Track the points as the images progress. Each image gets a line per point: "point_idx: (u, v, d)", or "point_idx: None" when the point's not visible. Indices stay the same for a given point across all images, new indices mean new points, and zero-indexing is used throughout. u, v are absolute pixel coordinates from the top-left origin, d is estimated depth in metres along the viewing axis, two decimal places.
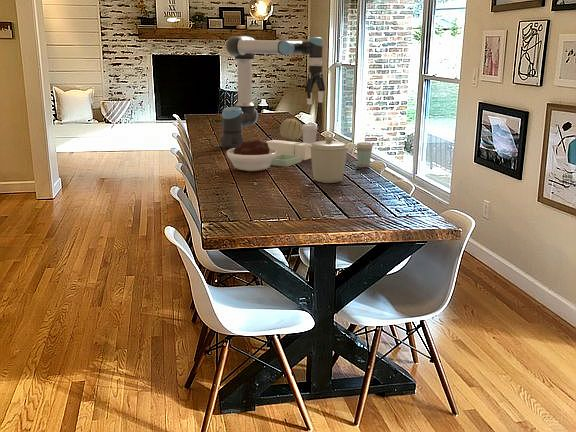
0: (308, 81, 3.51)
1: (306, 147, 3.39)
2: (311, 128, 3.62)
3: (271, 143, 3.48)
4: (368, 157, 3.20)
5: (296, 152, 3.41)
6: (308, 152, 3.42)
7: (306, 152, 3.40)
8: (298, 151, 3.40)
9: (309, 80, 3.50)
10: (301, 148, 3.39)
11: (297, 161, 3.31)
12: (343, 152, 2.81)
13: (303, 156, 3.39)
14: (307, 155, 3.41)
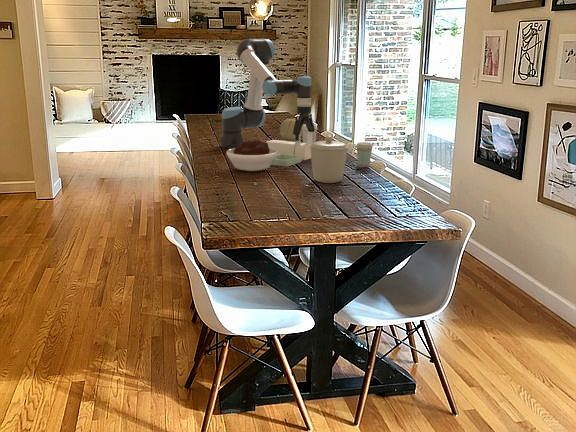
0: (296, 123, 3.32)
1: (306, 147, 3.39)
2: None
3: (271, 143, 3.48)
4: (368, 157, 3.20)
5: (296, 152, 3.41)
6: (308, 152, 3.42)
7: (306, 152, 3.40)
8: (298, 151, 3.40)
9: (297, 122, 3.32)
10: (301, 148, 3.39)
11: (297, 161, 3.31)
12: (343, 152, 2.81)
13: (303, 156, 3.39)
14: (307, 155, 3.41)
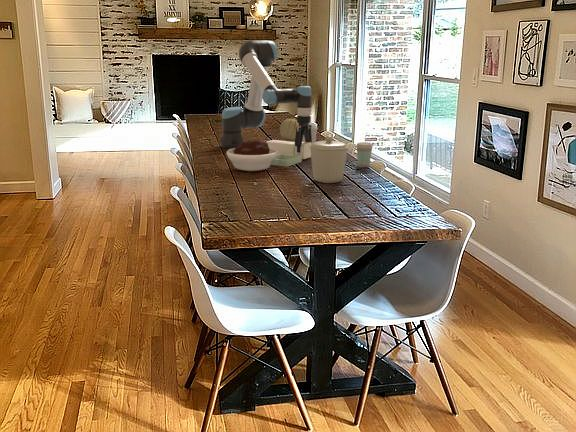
0: (296, 134, 3.35)
1: (306, 146, 3.39)
2: (311, 128, 3.62)
3: (271, 143, 3.48)
4: (368, 157, 3.20)
5: (295, 151, 3.41)
6: (308, 151, 3.42)
7: (306, 151, 3.41)
8: None
9: (297, 133, 3.35)
10: None
11: (297, 161, 3.31)
12: (343, 152, 2.81)
13: (302, 155, 3.39)
14: (306, 154, 3.41)
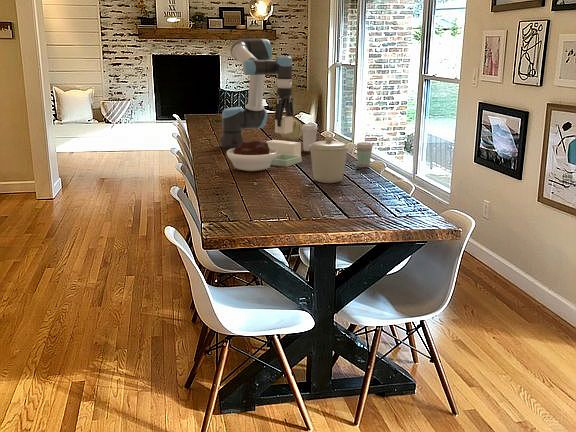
0: (277, 107, 3.18)
1: (287, 120, 3.22)
2: (311, 128, 3.62)
3: (271, 143, 3.48)
4: (368, 157, 3.20)
5: (276, 125, 3.23)
6: (289, 126, 3.25)
7: (287, 125, 3.23)
8: None
9: (277, 106, 3.17)
10: None
11: (297, 161, 3.31)
12: (343, 152, 2.81)
13: (283, 129, 3.22)
14: (287, 128, 3.24)
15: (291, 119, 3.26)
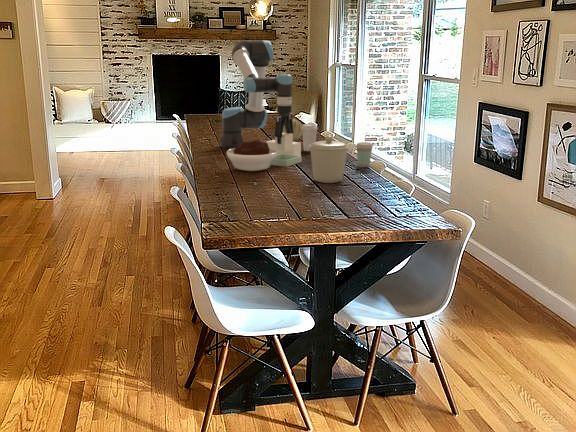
0: (277, 125, 3.20)
1: (286, 137, 3.24)
2: (311, 128, 3.62)
3: (271, 143, 3.48)
4: (368, 157, 3.20)
5: (276, 142, 3.26)
6: (289, 143, 3.27)
7: (287, 142, 3.25)
8: None
9: (277, 124, 3.20)
10: None
11: (297, 161, 3.31)
12: (343, 152, 2.81)
13: (283, 146, 3.24)
14: (287, 145, 3.26)
15: (291, 136, 3.28)
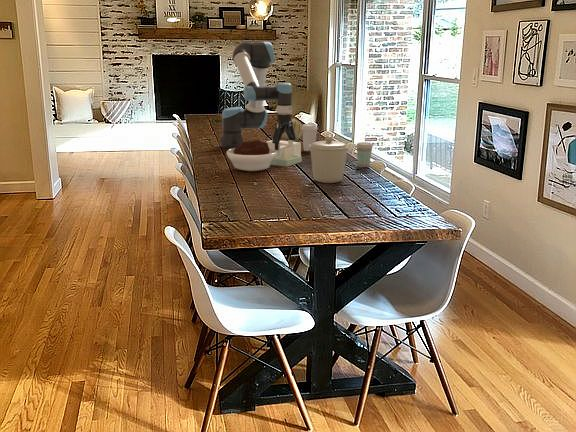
0: (275, 131, 3.20)
1: (286, 150, 3.26)
2: (311, 128, 3.62)
3: (271, 143, 3.48)
4: (368, 157, 3.20)
5: None
6: (289, 155, 3.29)
7: (287, 155, 3.27)
8: None
9: (277, 130, 3.20)
10: (281, 151, 3.26)
11: (297, 161, 3.31)
12: (343, 152, 2.81)
13: (283, 159, 3.26)
14: (287, 158, 3.28)
15: (291, 149, 3.30)
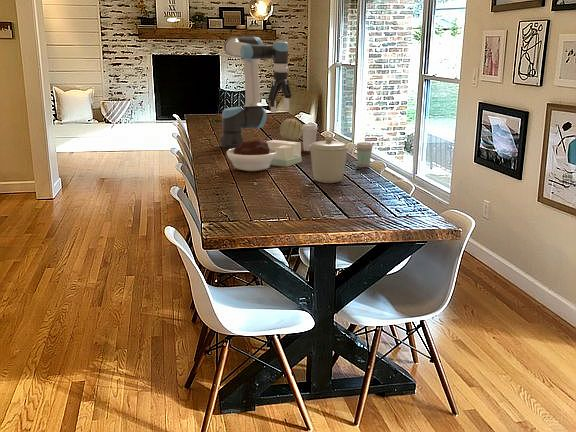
0: (272, 88, 3.31)
1: (286, 150, 3.26)
2: (311, 128, 3.62)
3: (271, 143, 3.48)
4: (368, 157, 3.20)
5: (276, 155, 3.28)
6: (289, 155, 3.29)
7: (287, 155, 3.27)
8: (278, 153, 3.27)
9: (273, 87, 3.31)
10: (281, 151, 3.26)
11: (297, 161, 3.31)
12: (343, 152, 2.81)
13: (283, 159, 3.26)
14: (287, 158, 3.28)
15: (291, 149, 3.30)
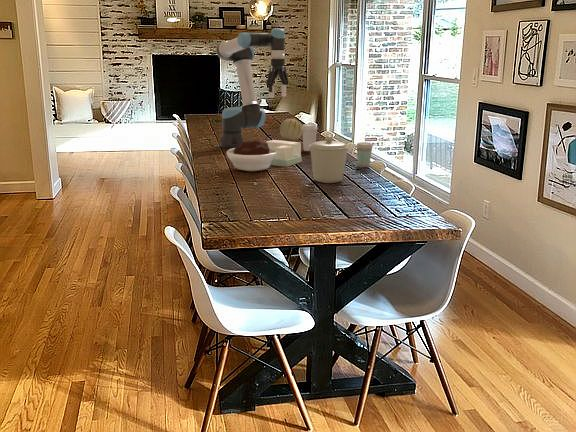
0: (269, 74, 3.42)
1: (286, 150, 3.26)
2: (311, 128, 3.62)
3: (271, 143, 3.48)
4: (368, 157, 3.20)
5: (276, 155, 3.28)
6: (289, 155, 3.29)
7: (287, 155, 3.27)
8: (278, 153, 3.27)
9: (270, 73, 3.42)
10: (281, 151, 3.26)
11: (297, 161, 3.31)
12: (343, 152, 2.81)
13: (283, 159, 3.26)
14: (287, 158, 3.28)
15: (291, 149, 3.30)
